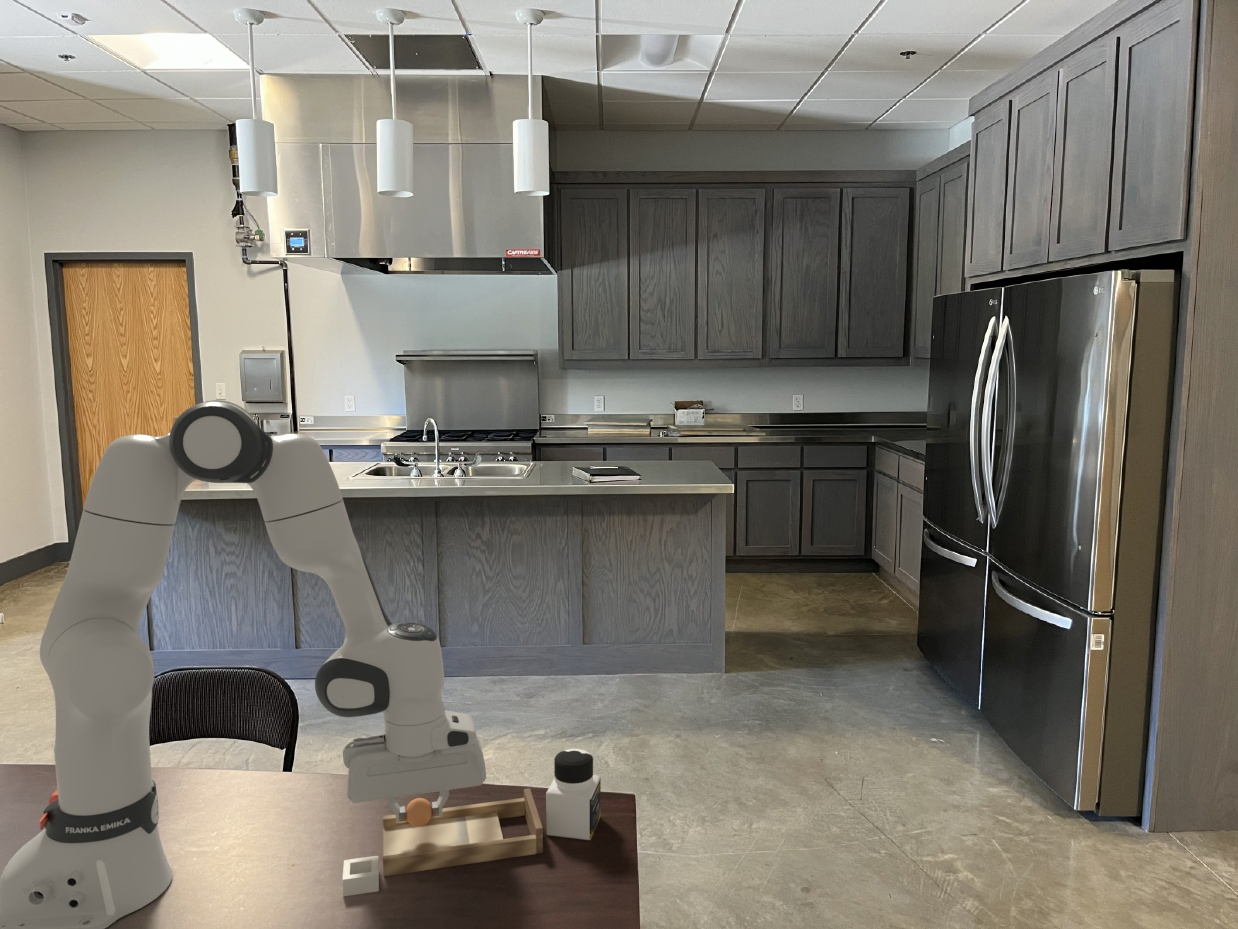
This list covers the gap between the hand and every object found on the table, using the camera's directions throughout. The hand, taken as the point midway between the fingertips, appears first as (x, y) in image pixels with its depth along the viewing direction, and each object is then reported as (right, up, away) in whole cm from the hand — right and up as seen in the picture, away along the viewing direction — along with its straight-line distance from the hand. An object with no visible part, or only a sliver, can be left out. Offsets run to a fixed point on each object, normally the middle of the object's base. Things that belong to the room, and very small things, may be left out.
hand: (419, 818), depth 131 cm
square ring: (-6, -6, -9) cm, 12 cm away
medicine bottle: (+23, -4, +6) cm, 24 cm away
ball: (0, +1, 0) cm, 1 cm away
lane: (+6, -4, +2) cm, 7 cm away
